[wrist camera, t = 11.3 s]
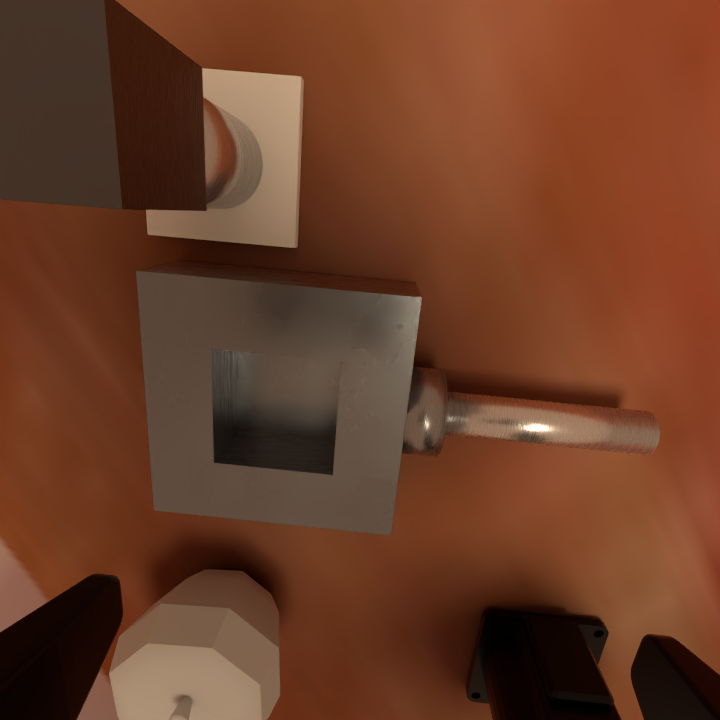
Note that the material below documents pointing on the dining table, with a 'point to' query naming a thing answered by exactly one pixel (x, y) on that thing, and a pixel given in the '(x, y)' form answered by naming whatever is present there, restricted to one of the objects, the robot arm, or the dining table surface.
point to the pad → (279, 155)
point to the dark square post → (112, 115)
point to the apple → (201, 653)
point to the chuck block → (315, 397)
